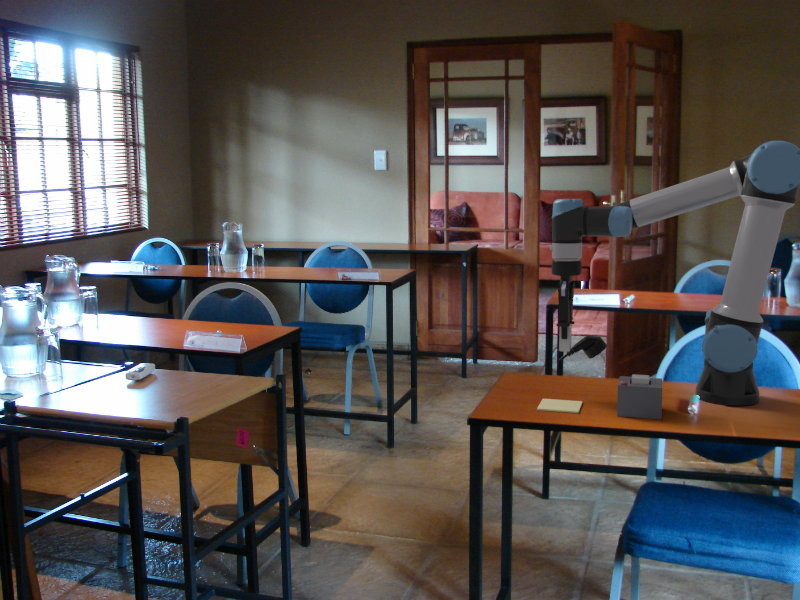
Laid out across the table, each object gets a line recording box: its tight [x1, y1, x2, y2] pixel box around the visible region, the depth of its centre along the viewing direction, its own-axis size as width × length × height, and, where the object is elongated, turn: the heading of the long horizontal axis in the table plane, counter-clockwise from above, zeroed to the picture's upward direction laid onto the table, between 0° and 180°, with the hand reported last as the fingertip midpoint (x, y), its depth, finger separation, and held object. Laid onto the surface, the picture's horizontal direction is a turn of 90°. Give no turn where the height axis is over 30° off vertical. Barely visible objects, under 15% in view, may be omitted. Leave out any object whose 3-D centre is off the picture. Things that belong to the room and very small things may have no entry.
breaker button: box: [631, 374, 650, 385], centre depth 187 cm, size 4×4×4 cm
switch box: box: [616, 375, 663, 420], centre depth 188 cm, size 10×10×8 cm
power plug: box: [558, 334, 608, 362], centre depth 201 cm, size 6×8×12 cm
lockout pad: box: [536, 398, 583, 414], centre depth 194 cm, size 10×10×1 cm
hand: (565, 350), depth 202 cm, fingers closed on power plug, 2 cm apart
